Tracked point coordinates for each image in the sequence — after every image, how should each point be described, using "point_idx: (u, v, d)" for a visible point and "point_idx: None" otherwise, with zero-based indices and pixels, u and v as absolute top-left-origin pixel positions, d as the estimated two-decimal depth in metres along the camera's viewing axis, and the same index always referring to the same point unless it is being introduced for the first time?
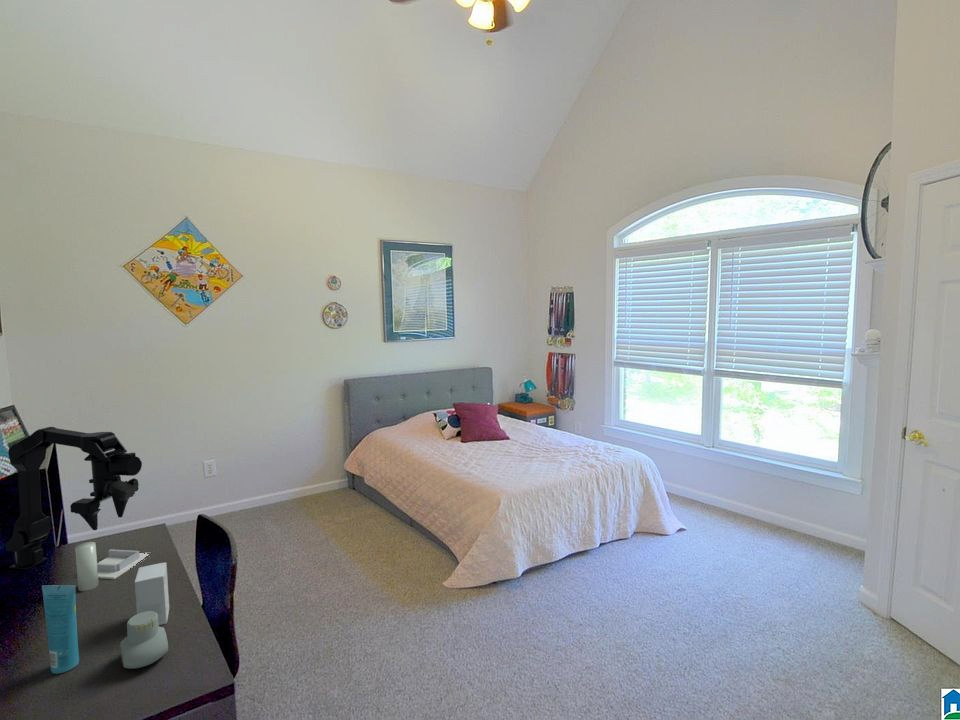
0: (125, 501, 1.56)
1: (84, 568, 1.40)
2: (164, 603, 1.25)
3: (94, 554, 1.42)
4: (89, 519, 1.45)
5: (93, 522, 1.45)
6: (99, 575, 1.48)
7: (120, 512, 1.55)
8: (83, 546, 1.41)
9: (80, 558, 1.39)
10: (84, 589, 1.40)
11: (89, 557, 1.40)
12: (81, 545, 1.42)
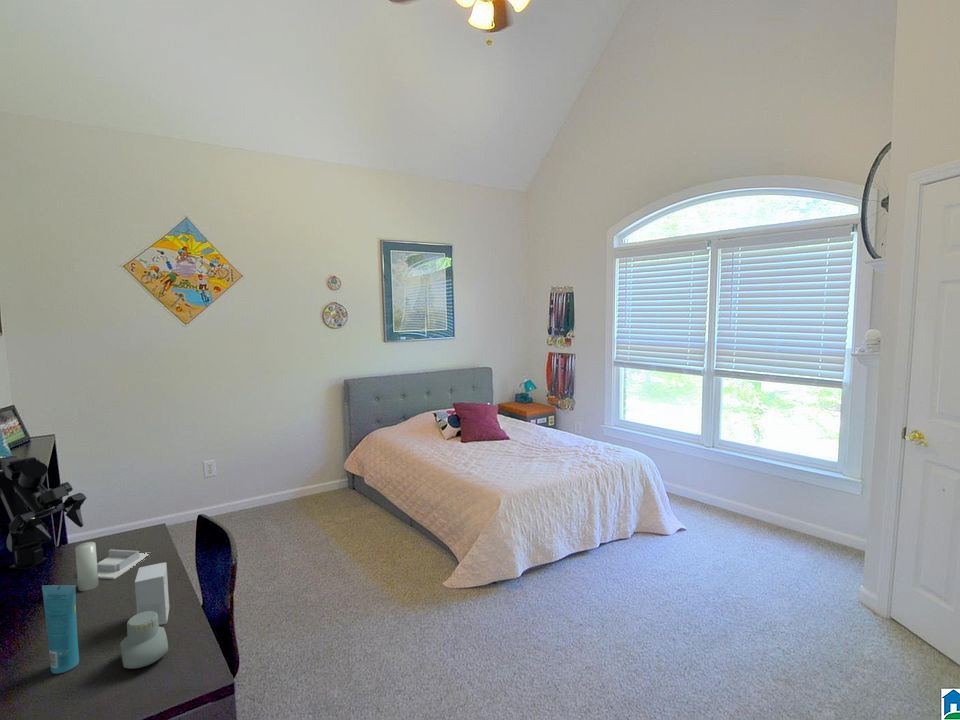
0: (77, 510, 1.52)
1: (84, 568, 1.40)
2: (164, 603, 1.25)
3: (94, 554, 1.42)
4: (37, 532, 1.42)
5: (41, 532, 1.42)
6: (99, 575, 1.48)
7: (78, 522, 1.51)
8: (83, 546, 1.41)
9: (80, 558, 1.39)
10: (84, 589, 1.40)
11: (89, 557, 1.40)
12: (81, 545, 1.42)
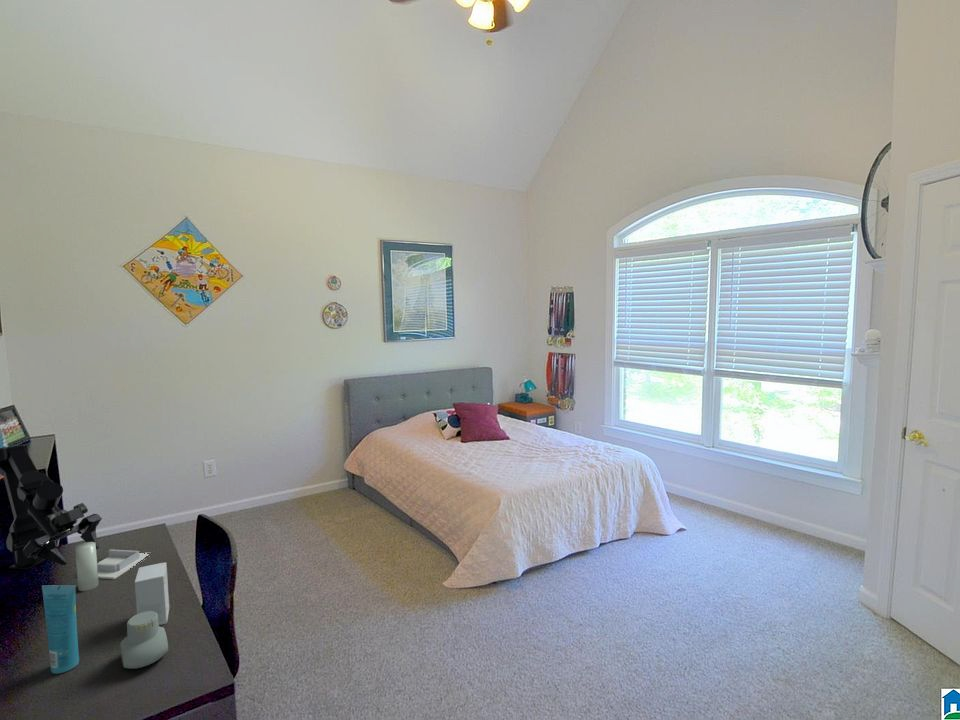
0: (92, 532, 1.47)
1: (84, 568, 1.40)
2: (164, 603, 1.25)
3: (94, 554, 1.42)
4: (52, 557, 1.37)
5: (57, 557, 1.37)
6: (99, 575, 1.48)
7: None
8: (83, 546, 1.41)
9: (80, 558, 1.39)
10: (84, 589, 1.40)
11: (89, 557, 1.40)
12: (81, 545, 1.42)
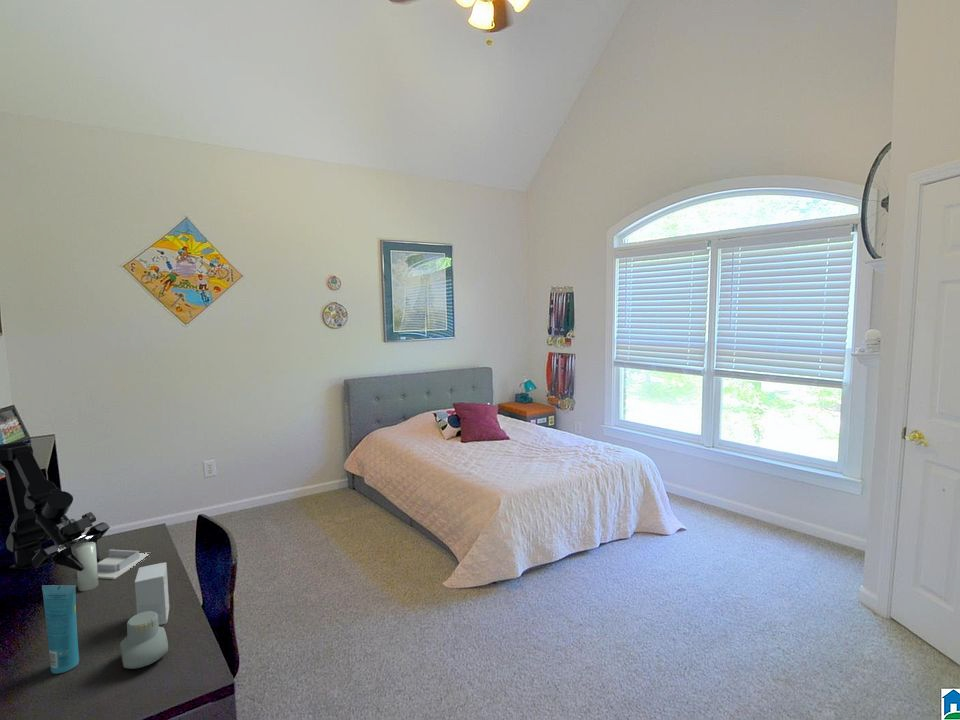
0: None
1: (84, 568, 1.40)
2: (164, 603, 1.25)
3: (94, 554, 1.42)
4: (68, 563, 1.39)
5: (73, 562, 1.38)
6: (99, 575, 1.48)
7: None
8: (83, 546, 1.41)
9: (80, 558, 1.39)
10: (84, 589, 1.40)
11: (89, 557, 1.41)
12: (81, 545, 1.42)
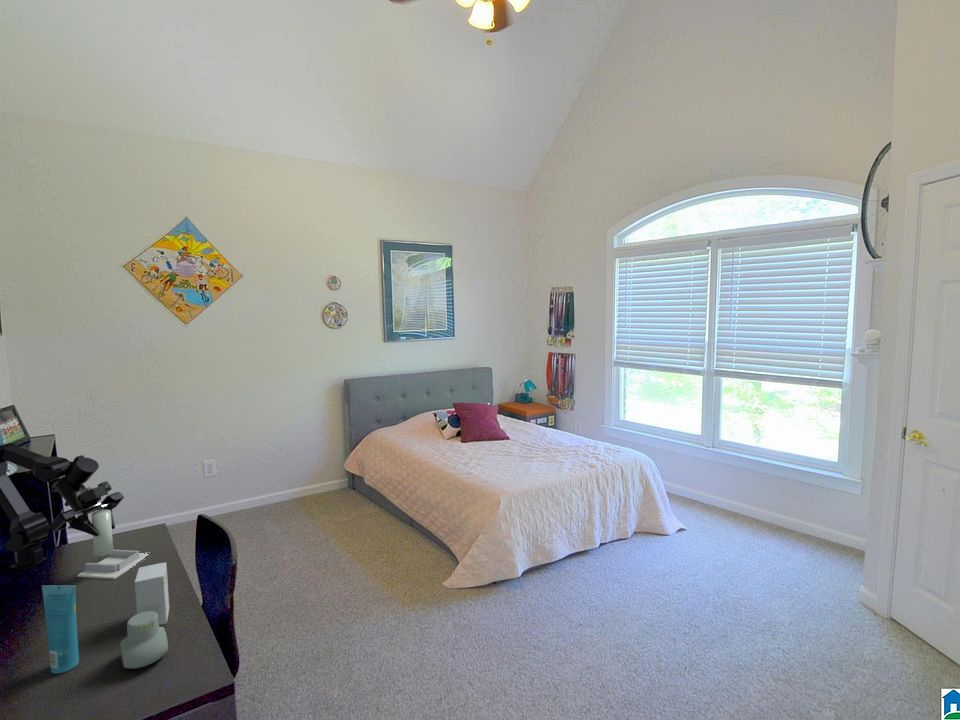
0: None
1: (100, 533, 1.47)
2: (164, 603, 1.25)
3: (109, 521, 1.49)
4: (85, 528, 1.45)
5: (90, 528, 1.45)
6: (99, 575, 1.48)
7: None
8: (99, 513, 1.48)
9: (96, 524, 1.46)
10: (99, 554, 1.47)
11: (104, 523, 1.47)
12: (97, 512, 1.48)
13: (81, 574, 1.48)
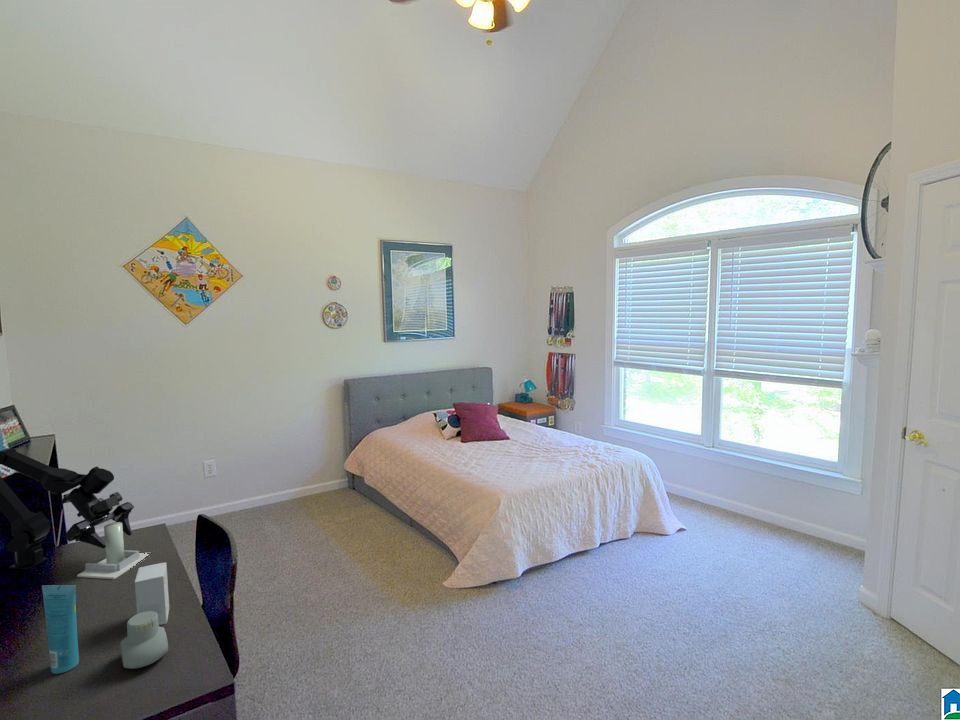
0: (125, 519, 1.59)
1: (112, 545, 1.52)
2: (164, 603, 1.25)
3: (121, 533, 1.54)
4: (92, 540, 1.49)
5: (97, 540, 1.49)
6: (99, 575, 1.48)
7: (127, 530, 1.58)
8: (111, 525, 1.53)
9: (108, 536, 1.51)
10: None
11: (117, 535, 1.53)
12: (109, 525, 1.54)
13: (81, 574, 1.48)
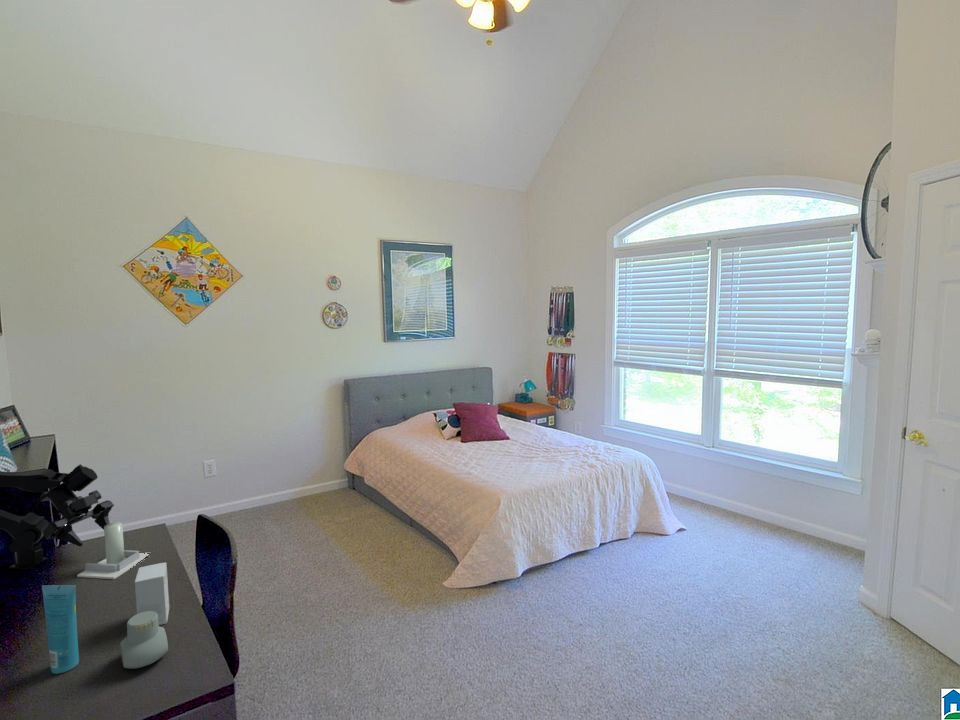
0: (105, 517, 1.61)
1: (112, 545, 1.52)
2: (164, 603, 1.25)
3: (121, 533, 1.54)
4: (69, 538, 1.50)
5: (73, 538, 1.50)
6: (99, 575, 1.48)
7: None
8: (111, 525, 1.53)
9: (108, 536, 1.51)
10: None
11: (117, 535, 1.52)
12: (109, 525, 1.54)
13: (81, 574, 1.48)
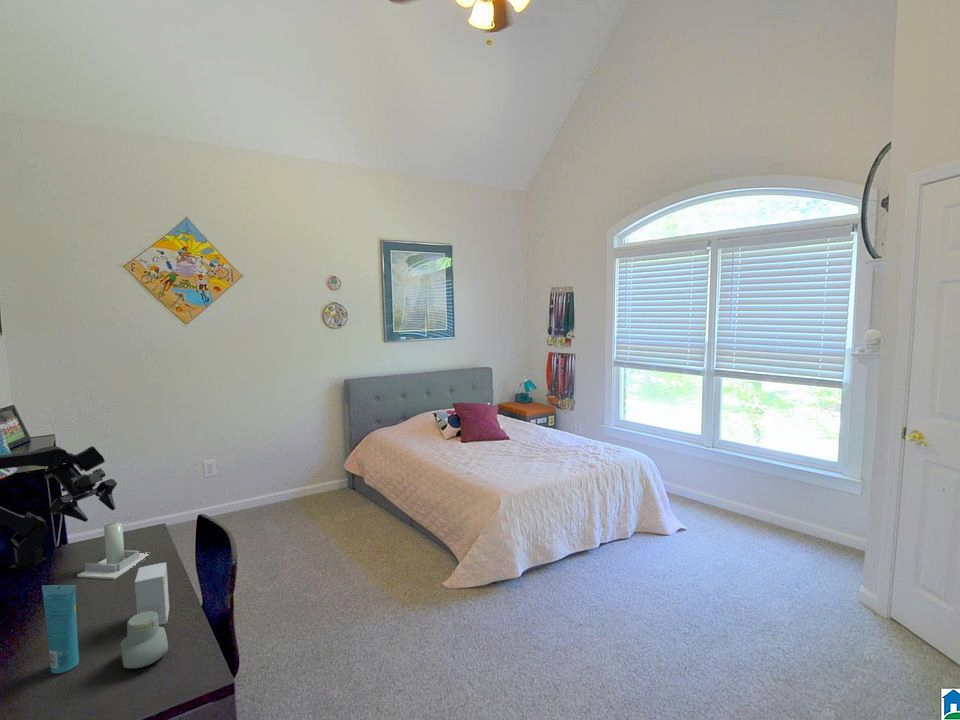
0: (109, 494, 1.65)
1: (112, 545, 1.52)
2: (164, 603, 1.25)
3: (121, 533, 1.54)
4: (74, 514, 1.55)
5: (79, 514, 1.55)
6: (99, 575, 1.48)
7: (110, 505, 1.64)
8: (111, 525, 1.53)
9: (108, 536, 1.51)
10: None
11: (117, 535, 1.52)
12: (109, 525, 1.54)
13: (81, 574, 1.48)
